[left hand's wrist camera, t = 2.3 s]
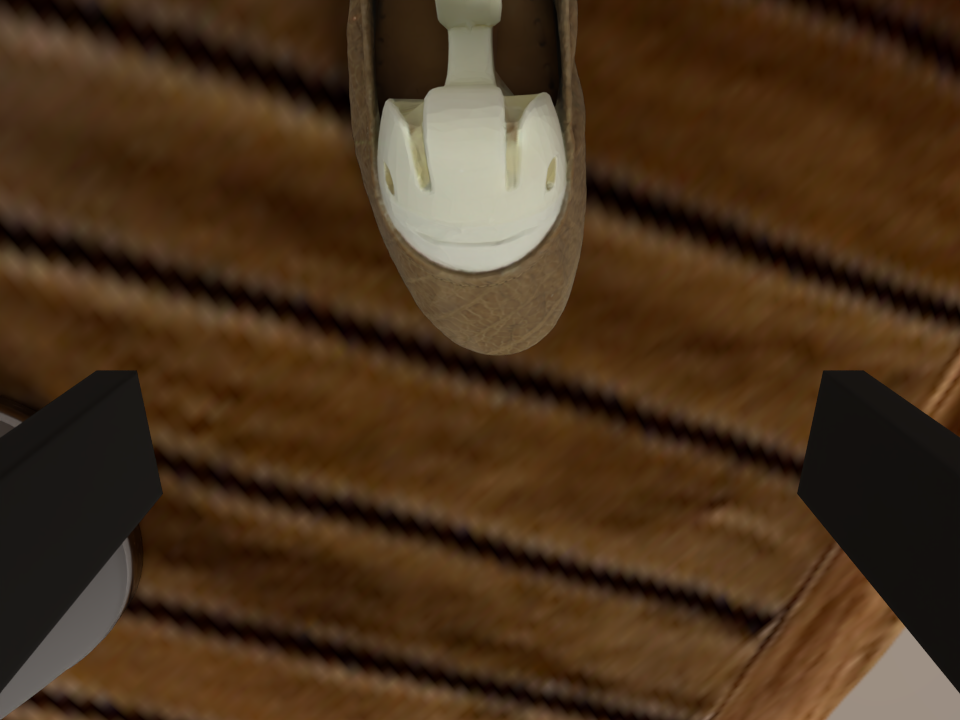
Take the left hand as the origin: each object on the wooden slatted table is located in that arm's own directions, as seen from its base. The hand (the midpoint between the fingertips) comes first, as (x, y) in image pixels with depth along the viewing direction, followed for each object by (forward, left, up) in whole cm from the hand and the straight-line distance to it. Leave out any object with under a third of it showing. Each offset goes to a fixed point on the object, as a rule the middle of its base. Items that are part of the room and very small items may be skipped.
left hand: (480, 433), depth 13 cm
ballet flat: (-3, +8, -15) cm, 17 cm away
